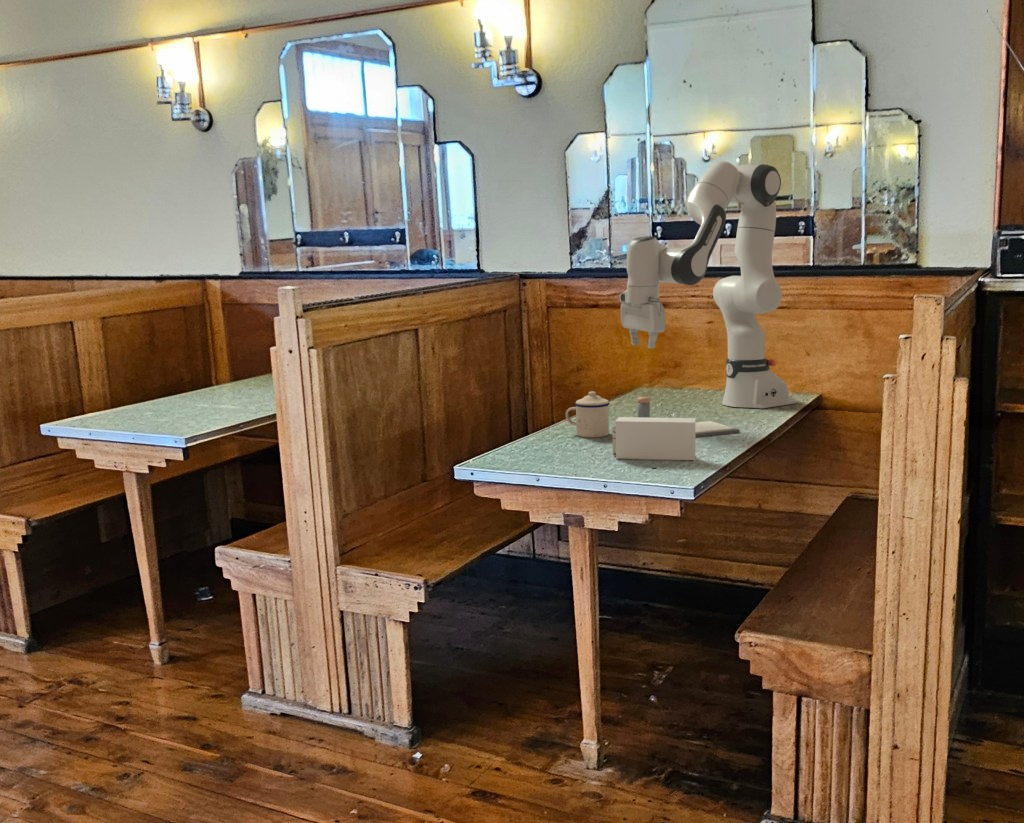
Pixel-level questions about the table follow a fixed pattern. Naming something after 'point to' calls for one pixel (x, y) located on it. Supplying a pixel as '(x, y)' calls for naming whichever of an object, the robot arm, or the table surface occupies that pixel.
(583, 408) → the teacup with lid
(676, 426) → the cigarette display
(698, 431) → the whiteboard
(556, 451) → the table surface
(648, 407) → the cylinder
